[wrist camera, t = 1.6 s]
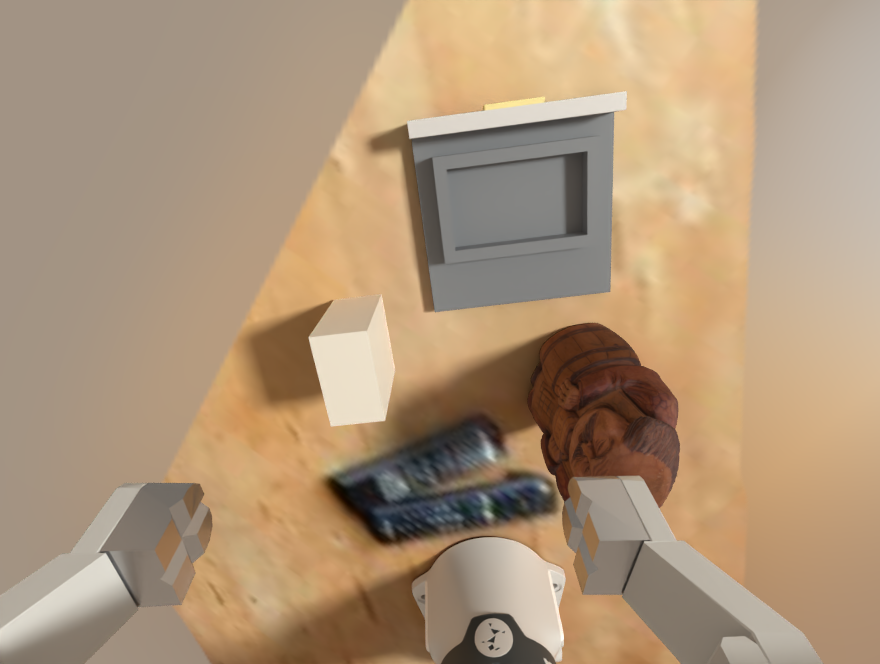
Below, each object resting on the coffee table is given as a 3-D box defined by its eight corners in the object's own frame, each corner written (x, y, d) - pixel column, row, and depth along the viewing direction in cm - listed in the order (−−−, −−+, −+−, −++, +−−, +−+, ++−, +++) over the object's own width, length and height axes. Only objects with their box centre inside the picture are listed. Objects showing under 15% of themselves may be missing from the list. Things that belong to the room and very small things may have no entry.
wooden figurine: (553, 308, 43) (626, 412, 26) (617, 323, 44) (726, 434, 27) (515, 412, 47) (556, 558, 31) (573, 424, 48) (645, 574, 31)
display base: (606, 288, 42) (620, 300, 39) (434, 308, 43) (434, 322, 40) (610, 90, 36) (626, 85, 33) (409, 117, 37) (406, 115, 33)
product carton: (381, 293, 42) (367, 330, 34) (395, 369, 46) (385, 420, 37) (332, 299, 43) (305, 337, 34) (348, 374, 46) (328, 426, 37)
